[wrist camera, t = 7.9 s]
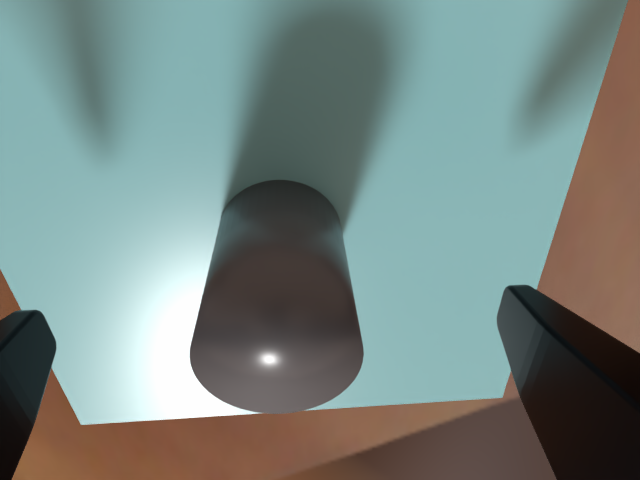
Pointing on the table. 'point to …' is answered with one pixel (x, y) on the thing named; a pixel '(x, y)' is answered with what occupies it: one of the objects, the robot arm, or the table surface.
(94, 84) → the cover
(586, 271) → the table surface
